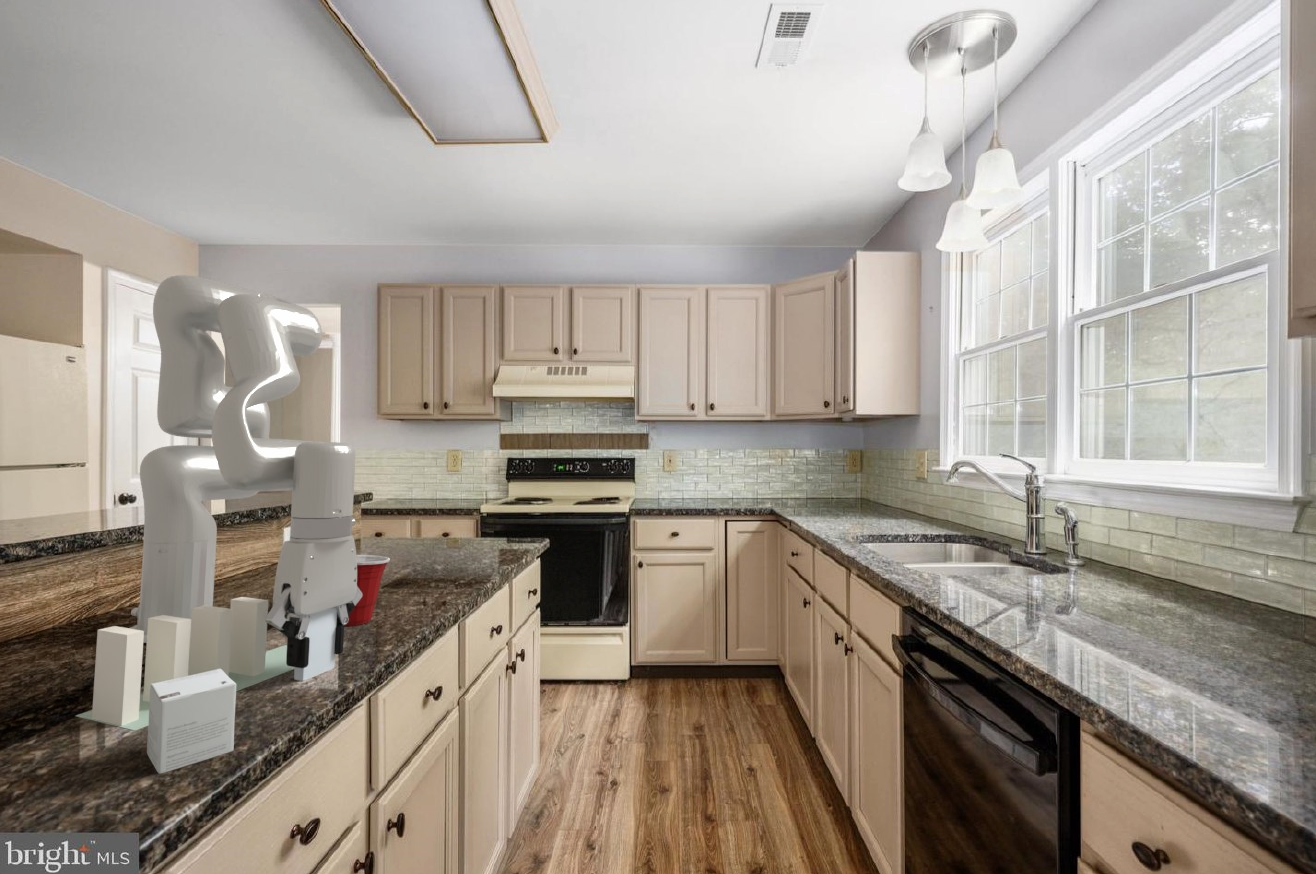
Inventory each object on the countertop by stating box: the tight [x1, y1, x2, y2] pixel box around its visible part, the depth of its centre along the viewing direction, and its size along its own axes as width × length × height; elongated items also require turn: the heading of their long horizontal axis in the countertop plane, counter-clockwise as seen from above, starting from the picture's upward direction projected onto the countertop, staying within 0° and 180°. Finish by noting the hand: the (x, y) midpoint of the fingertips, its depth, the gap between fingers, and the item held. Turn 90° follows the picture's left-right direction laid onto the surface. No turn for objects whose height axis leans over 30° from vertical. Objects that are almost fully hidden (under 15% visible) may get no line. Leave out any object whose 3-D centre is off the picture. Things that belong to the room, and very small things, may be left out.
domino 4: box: [229, 596, 270, 677], centre depth 78 cm, size 5×2×10 cm, turn 73°
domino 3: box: [188, 605, 232, 677], centre depth 74 cm, size 5×2×10 cm, turn 73°
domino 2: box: [143, 615, 191, 702], centre depth 69 cm, size 5×2×10 cm, turn 73°
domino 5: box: [293, 608, 337, 682], centre depth 79 cm, size 5×2×10 cm, turn 163°
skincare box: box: [146, 669, 237, 775], centre depth 58 cm, size 6×6×7 cm
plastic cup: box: [344, 554, 391, 627], centre depth 104 cm, size 11×11×12 cm
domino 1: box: [91, 625, 144, 726], centre depth 64 cm, size 5×2×10 cm, turn 73°
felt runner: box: [75, 644, 295, 732], centre depth 76 cm, size 10×26×1 cm, turn 163°
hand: (315, 658), depth 79 cm, fingers closed on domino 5, 4 cm apart
